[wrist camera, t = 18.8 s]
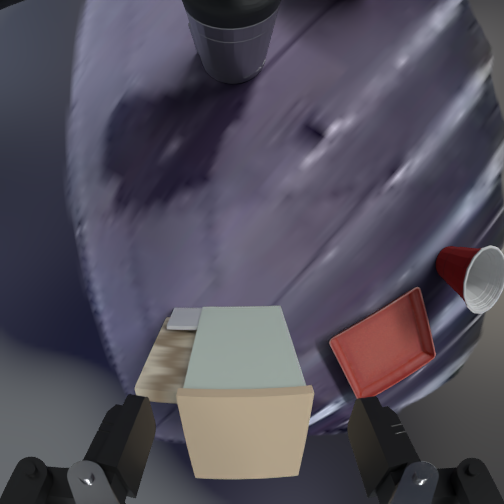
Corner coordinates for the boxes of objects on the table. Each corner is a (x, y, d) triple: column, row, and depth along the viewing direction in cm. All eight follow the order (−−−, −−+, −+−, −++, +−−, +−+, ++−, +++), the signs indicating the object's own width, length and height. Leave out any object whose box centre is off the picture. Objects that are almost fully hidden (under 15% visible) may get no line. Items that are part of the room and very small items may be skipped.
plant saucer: (322, 331, 48) (327, 341, 44) (410, 279, 46) (420, 285, 43) (354, 394, 52) (359, 404, 49) (428, 348, 51) (436, 357, 47)
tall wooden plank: (168, 333, 46) (139, 407, 29) (166, 317, 45) (134, 388, 28) (204, 334, 46) (190, 411, 29) (203, 317, 46) (187, 392, 28)
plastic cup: (461, 222, 44) (505, 235, 32) (468, 272, 46) (508, 293, 35) (419, 246, 44) (462, 266, 33) (429, 298, 47) (467, 326, 35)
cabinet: (184, 380, 49) (163, 474, 28) (174, 304, 45) (135, 392, 24) (278, 380, 49) (298, 475, 29) (282, 303, 46) (314, 392, 25)
